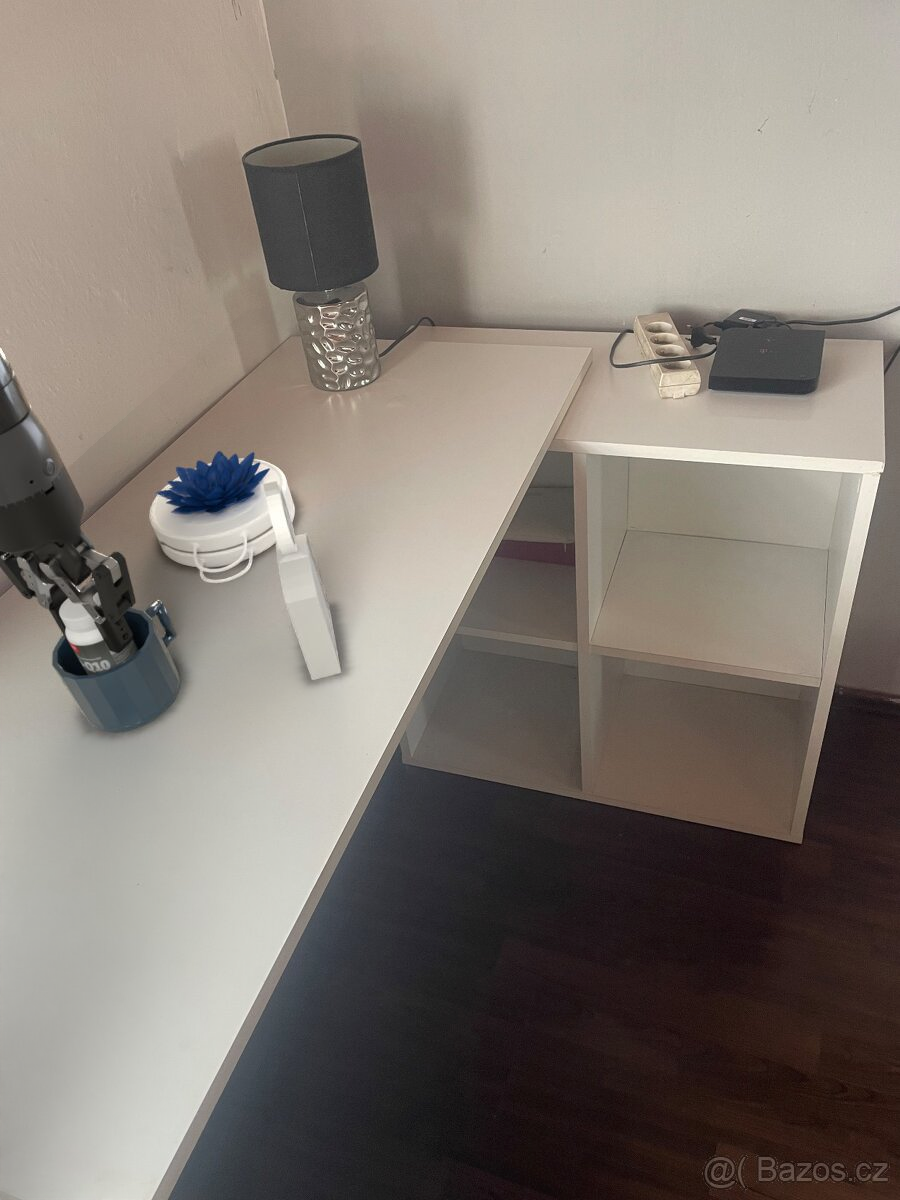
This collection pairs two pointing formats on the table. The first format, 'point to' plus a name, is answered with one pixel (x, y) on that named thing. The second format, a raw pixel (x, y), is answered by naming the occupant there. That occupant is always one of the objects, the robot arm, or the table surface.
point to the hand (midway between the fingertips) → (100, 638)
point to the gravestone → (302, 589)
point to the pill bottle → (91, 640)
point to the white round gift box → (217, 513)
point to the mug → (125, 676)
